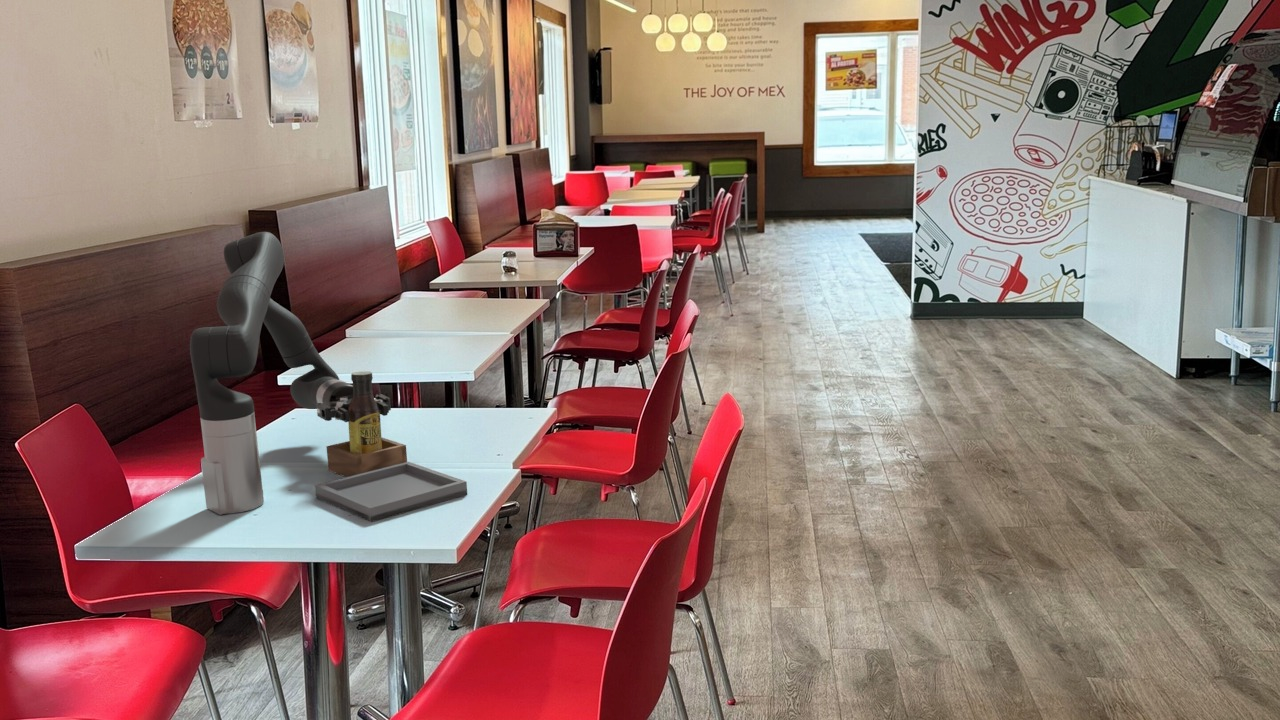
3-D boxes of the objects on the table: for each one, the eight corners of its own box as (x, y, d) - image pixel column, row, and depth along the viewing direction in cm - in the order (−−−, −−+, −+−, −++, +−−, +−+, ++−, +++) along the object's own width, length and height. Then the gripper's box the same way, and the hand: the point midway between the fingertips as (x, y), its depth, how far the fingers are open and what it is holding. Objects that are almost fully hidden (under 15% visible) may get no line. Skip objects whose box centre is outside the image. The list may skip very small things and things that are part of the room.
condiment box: (358, 481, 220) (356, 457, 219) (328, 470, 229) (326, 446, 228) (407, 469, 227) (405, 445, 226) (376, 458, 236) (374, 435, 235)
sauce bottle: (365, 476, 223) (356, 377, 220) (345, 471, 227) (336, 374, 223) (391, 468, 229) (383, 371, 225) (370, 463, 232) (362, 368, 228)
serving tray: (371, 522, 196) (370, 508, 196) (316, 498, 211) (314, 485, 210) (467, 494, 210) (466, 481, 209) (409, 473, 224) (408, 461, 224)
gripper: (303, 386, 233) (329, 400, 219) (371, 376, 240) (399, 389, 227) (307, 422, 234) (332, 438, 221) (374, 411, 242) (402, 426, 228)
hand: (366, 413), depth 224 cm, fingers open, 7 cm apart
